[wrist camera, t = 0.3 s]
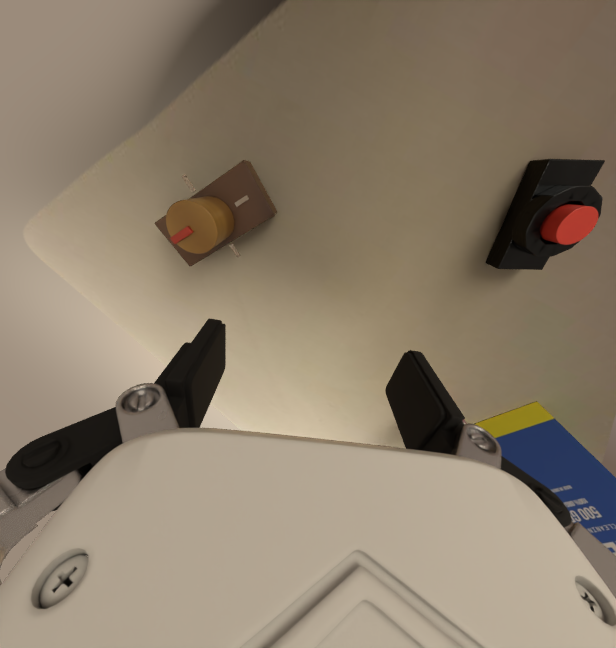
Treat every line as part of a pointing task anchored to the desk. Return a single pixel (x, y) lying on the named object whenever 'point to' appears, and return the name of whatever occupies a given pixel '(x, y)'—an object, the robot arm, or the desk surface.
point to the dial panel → (231, 205)
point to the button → (569, 224)
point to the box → (559, 467)
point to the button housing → (542, 210)
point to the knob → (199, 223)
